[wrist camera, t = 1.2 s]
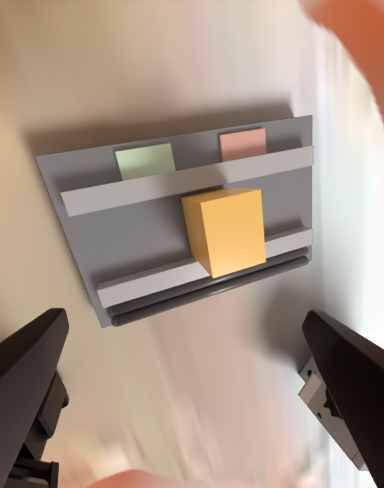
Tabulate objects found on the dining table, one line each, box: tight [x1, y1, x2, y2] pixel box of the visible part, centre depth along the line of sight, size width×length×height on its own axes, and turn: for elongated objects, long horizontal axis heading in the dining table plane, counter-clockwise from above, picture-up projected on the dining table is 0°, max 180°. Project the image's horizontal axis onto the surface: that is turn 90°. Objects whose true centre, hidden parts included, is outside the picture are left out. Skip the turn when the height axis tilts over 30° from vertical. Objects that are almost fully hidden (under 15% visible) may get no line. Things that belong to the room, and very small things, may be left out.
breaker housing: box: [35, 115, 314, 328], centre depth 19 cm, size 22×14×3 cm, turn 101°
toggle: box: [181, 188, 266, 278], centre depth 16 cm, size 4×5×5 cm
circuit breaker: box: [298, 356, 369, 471], centre depth 24 cm, size 8×14×15 cm, turn 61°
